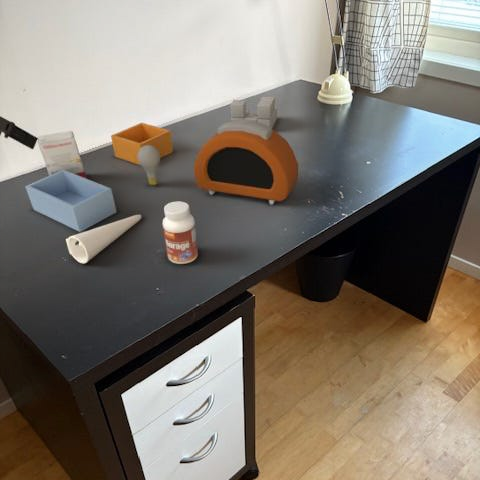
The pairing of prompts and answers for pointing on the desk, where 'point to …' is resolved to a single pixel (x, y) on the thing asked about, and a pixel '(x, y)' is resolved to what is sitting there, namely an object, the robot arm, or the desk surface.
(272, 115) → the gray notched block
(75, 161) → the ink box
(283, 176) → the alarm clock
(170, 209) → the pill bottle
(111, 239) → the long cone
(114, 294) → the desk surface
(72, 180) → the blue bin
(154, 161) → the light bulb
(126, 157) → the amber bin
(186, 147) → the desk surface
